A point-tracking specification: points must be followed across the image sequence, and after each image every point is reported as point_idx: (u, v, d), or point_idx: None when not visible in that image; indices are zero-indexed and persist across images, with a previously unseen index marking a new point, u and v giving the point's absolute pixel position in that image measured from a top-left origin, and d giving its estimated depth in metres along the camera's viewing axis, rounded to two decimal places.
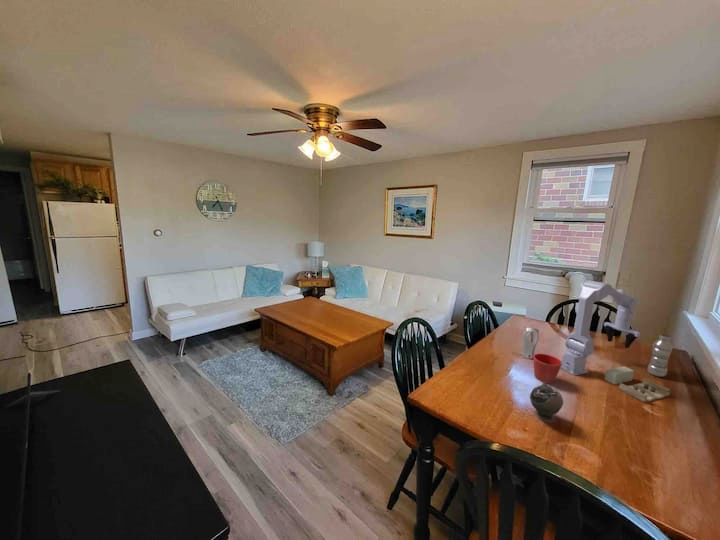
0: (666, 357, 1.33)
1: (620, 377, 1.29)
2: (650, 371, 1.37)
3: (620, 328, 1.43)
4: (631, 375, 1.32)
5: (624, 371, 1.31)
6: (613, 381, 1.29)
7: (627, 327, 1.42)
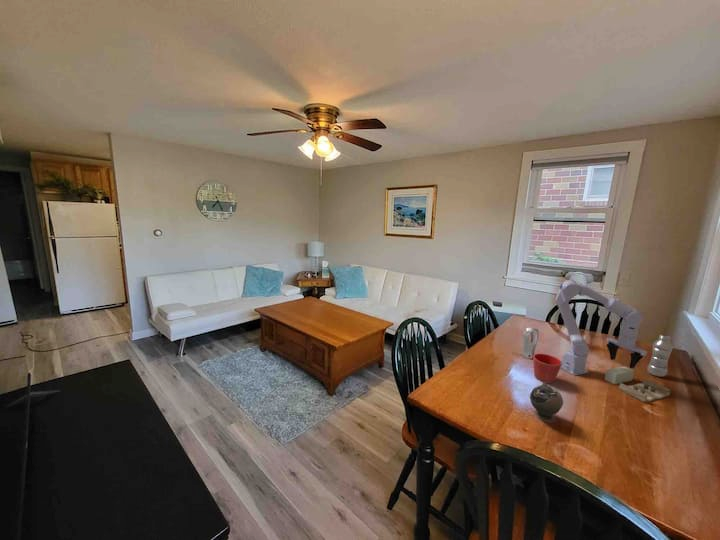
0: (666, 357, 1.33)
1: (620, 377, 1.29)
2: (650, 371, 1.37)
3: (624, 346, 1.28)
4: (631, 375, 1.32)
5: (624, 371, 1.31)
6: (613, 381, 1.29)
7: (632, 345, 1.26)
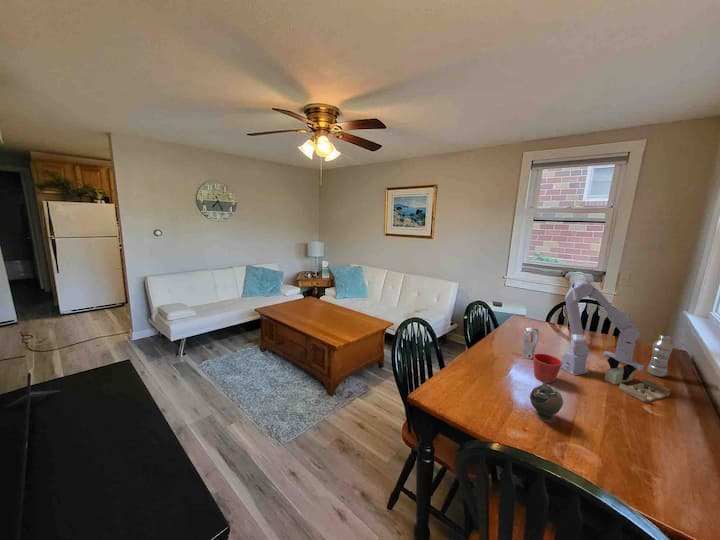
0: (666, 357, 1.33)
1: (620, 377, 1.29)
2: (650, 371, 1.37)
3: (621, 360, 1.29)
4: (631, 374, 1.32)
5: None
6: (613, 381, 1.29)
7: (629, 359, 1.28)
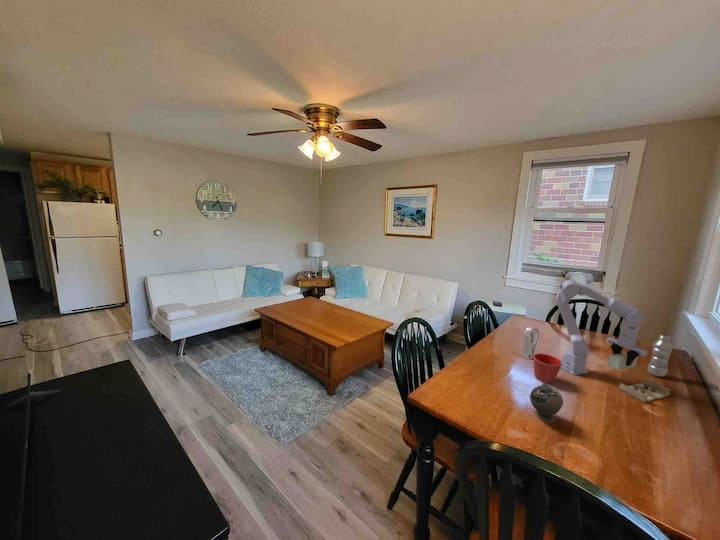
0: (666, 357, 1.33)
1: (623, 363, 1.28)
2: (650, 371, 1.37)
3: (625, 345, 1.27)
4: (635, 360, 1.30)
5: None
6: (616, 366, 1.28)
7: (632, 344, 1.26)
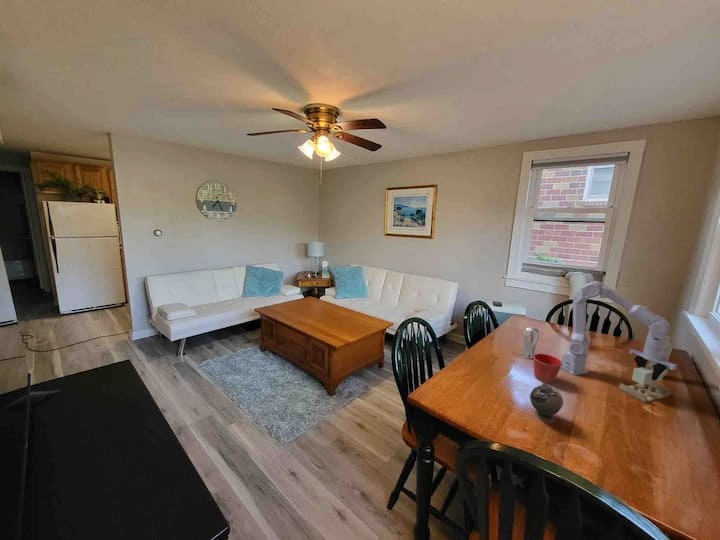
0: (666, 357, 1.33)
1: (649, 377, 1.19)
2: None
3: (651, 358, 1.18)
4: (661, 374, 1.21)
5: None
6: (642, 381, 1.18)
7: (659, 357, 1.17)
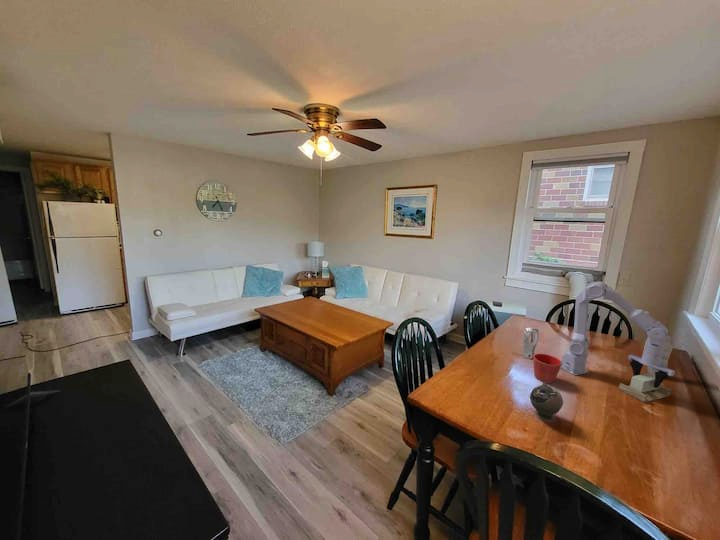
0: (666, 357, 1.33)
1: (647, 385, 1.19)
2: (650, 371, 1.37)
3: (649, 364, 1.19)
4: None
5: (651, 378, 1.21)
6: (640, 389, 1.19)
7: (658, 363, 1.17)
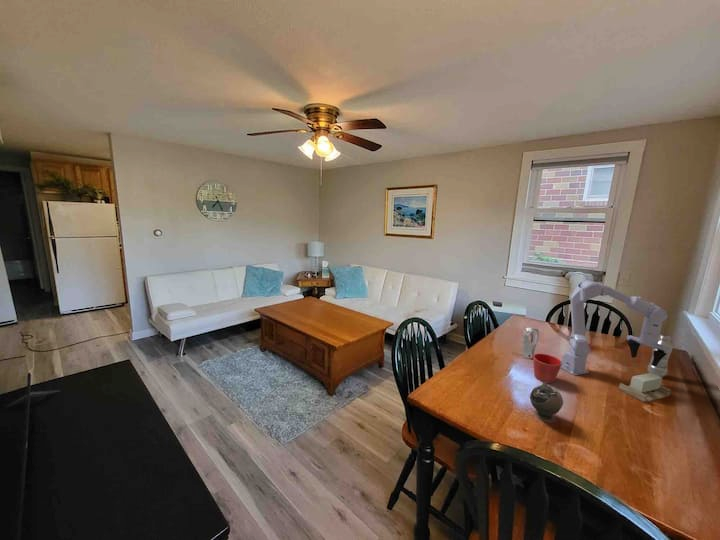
0: (666, 357, 1.33)
1: (647, 385, 1.19)
2: (650, 371, 1.37)
3: (647, 343, 1.26)
4: (659, 382, 1.22)
5: (651, 378, 1.21)
6: (640, 389, 1.19)
7: (655, 342, 1.24)
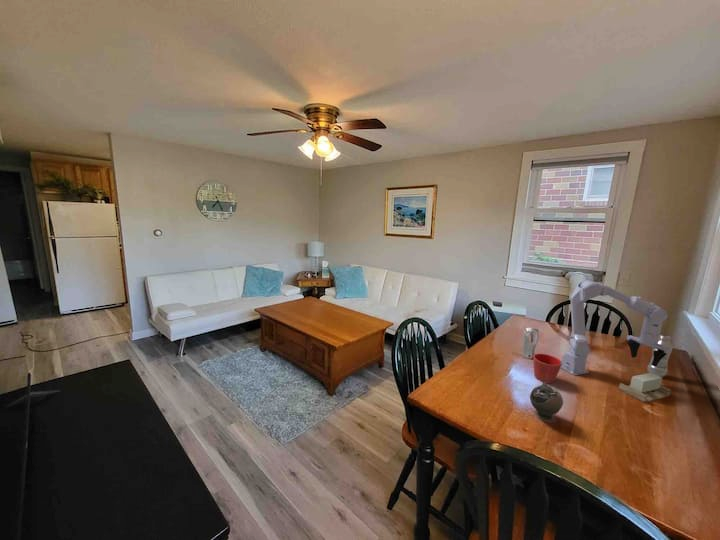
0: (666, 357, 1.33)
1: (647, 385, 1.19)
2: (650, 371, 1.37)
3: (647, 343, 1.26)
4: (659, 382, 1.22)
5: (651, 378, 1.21)
6: (640, 389, 1.19)
7: (655, 342, 1.24)
